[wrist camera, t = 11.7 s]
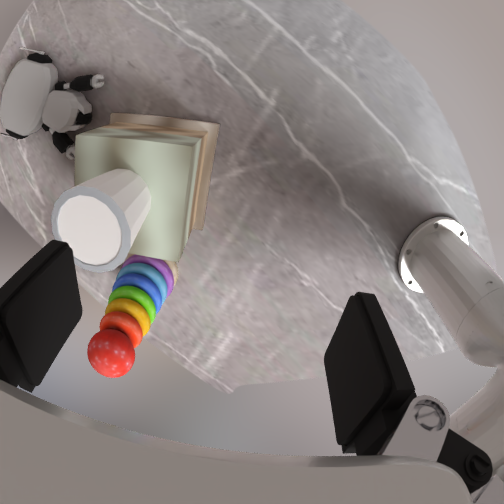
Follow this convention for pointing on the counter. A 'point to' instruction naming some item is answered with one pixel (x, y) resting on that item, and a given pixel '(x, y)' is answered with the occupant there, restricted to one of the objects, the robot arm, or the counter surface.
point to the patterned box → (156, 173)
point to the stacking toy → (130, 312)
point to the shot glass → (102, 218)
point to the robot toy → (45, 101)
